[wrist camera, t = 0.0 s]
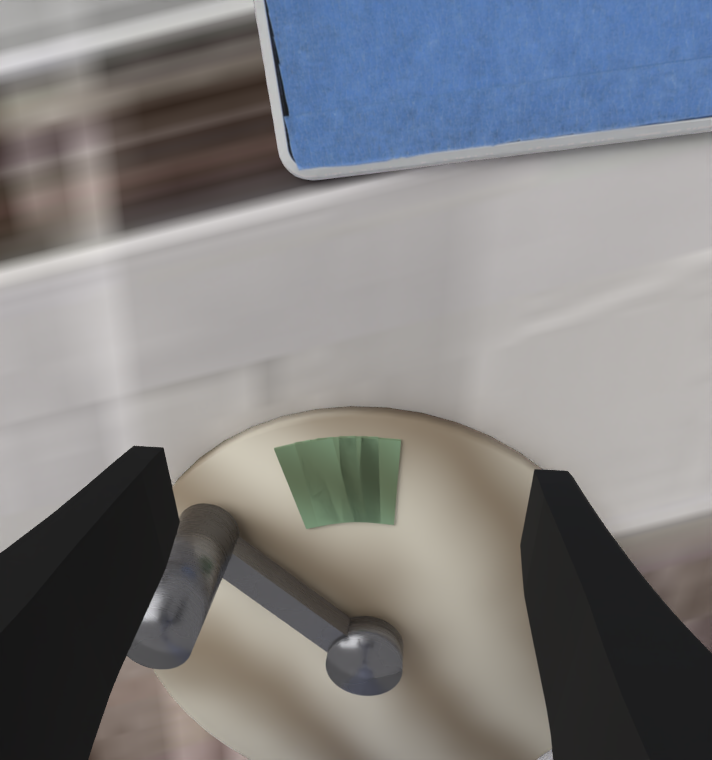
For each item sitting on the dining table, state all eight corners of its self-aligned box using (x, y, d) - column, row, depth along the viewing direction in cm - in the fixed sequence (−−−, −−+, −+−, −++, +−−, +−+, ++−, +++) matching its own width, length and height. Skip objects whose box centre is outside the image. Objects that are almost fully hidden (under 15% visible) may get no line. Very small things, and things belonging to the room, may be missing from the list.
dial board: (387, 829, 33) (386, 852, 32) (58, 612, 30) (45, 631, 28) (721, 622, 26) (732, 643, 25) (341, 296, 22) (337, 306, 21)
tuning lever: (419, 645, 26) (417, 776, 21) (369, 682, 27) (356, 815, 22) (205, 487, 24) (147, 591, 19) (161, 534, 25) (96, 644, 20)
